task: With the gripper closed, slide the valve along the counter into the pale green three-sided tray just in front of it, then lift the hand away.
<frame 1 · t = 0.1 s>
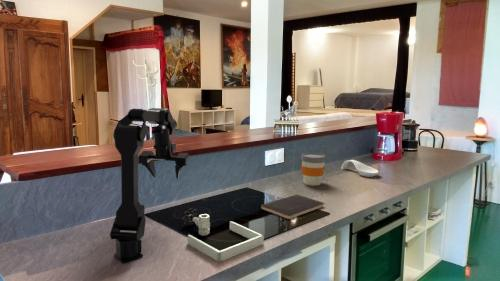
hand: (166, 177, 146), 15 cm above the worktop, tool pointing down, fingers open, 9 cm apart
sorting tray: (225, 243, 124), on the worktop
reusable coffee cup: (312, 183, 198), on the worktop
spoon rest: (358, 174, 221), on the worktop
valve: (198, 230, 135), on the worktop
hardcover book: (292, 209, 160), on the worktop
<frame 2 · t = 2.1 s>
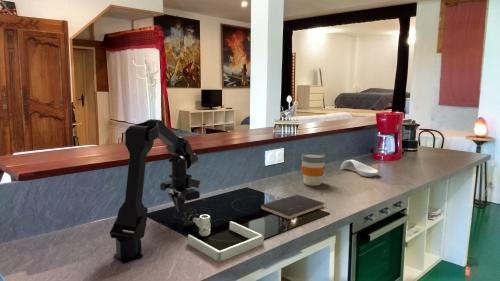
hand: (179, 211, 143), 3 cm above the worktop, tool pointing down, fingers closed
nothing on the worktop moved.
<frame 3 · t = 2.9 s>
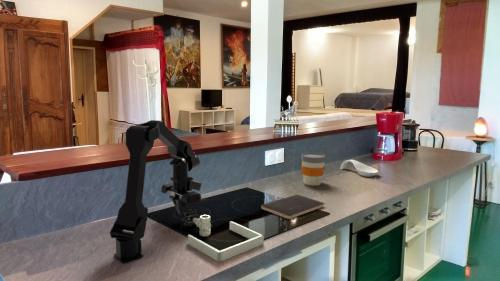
hand: (180, 214, 143), 2 cm above the worktop, tool pointing down, fingers closed
nothing on the worktop moved.
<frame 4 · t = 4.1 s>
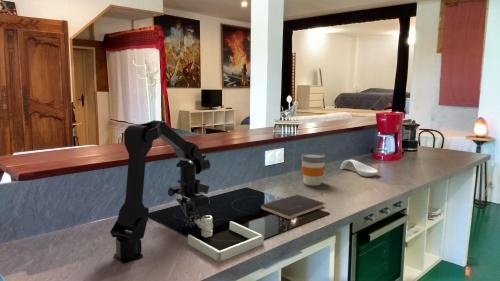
hand: (188, 218, 140), 3 cm above the worktop, tool pointing down, fingers closed
valve: (200, 232, 134), on the worktop, touching gripper
everything else where it was.
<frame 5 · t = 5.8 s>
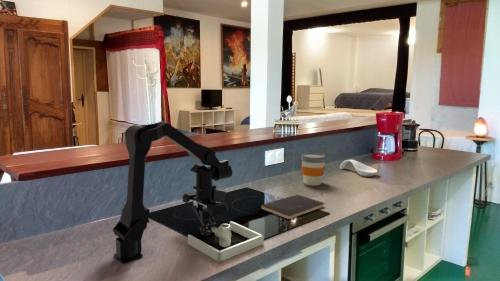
hand: (204, 225, 133), 3 cm above the worktop, tool pointing down, fingers closed
valve: (217, 241, 127), resting in sorting tray, touching gripper
everything else where it was.
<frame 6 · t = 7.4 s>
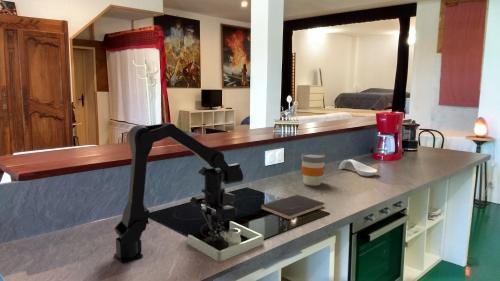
hand: (212, 230, 129), 2 cm above the worktop, tool pointing down, fingers closed
valve: (226, 246, 123), resting in sorting tray, touching gripper
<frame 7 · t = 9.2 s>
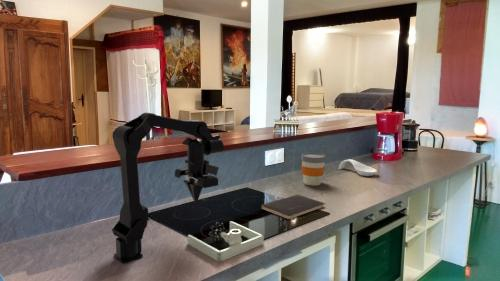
hand: (195, 200, 131), 12 cm above the worktop, tool pointing down, fingers closed
valve: (227, 247, 123), resting in sorting tray
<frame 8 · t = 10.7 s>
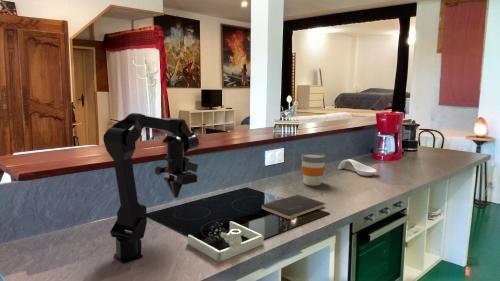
hand: (176, 197, 133), 12 cm above the worktop, tool pointing down, fingers closed
at the end: valve inside the target area on the sorting tray (1.9 cm from its centre), point 0.0 cm above the sorting tray's base; valve moved 17.2 cm from its start; the gripper is holding nothing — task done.
